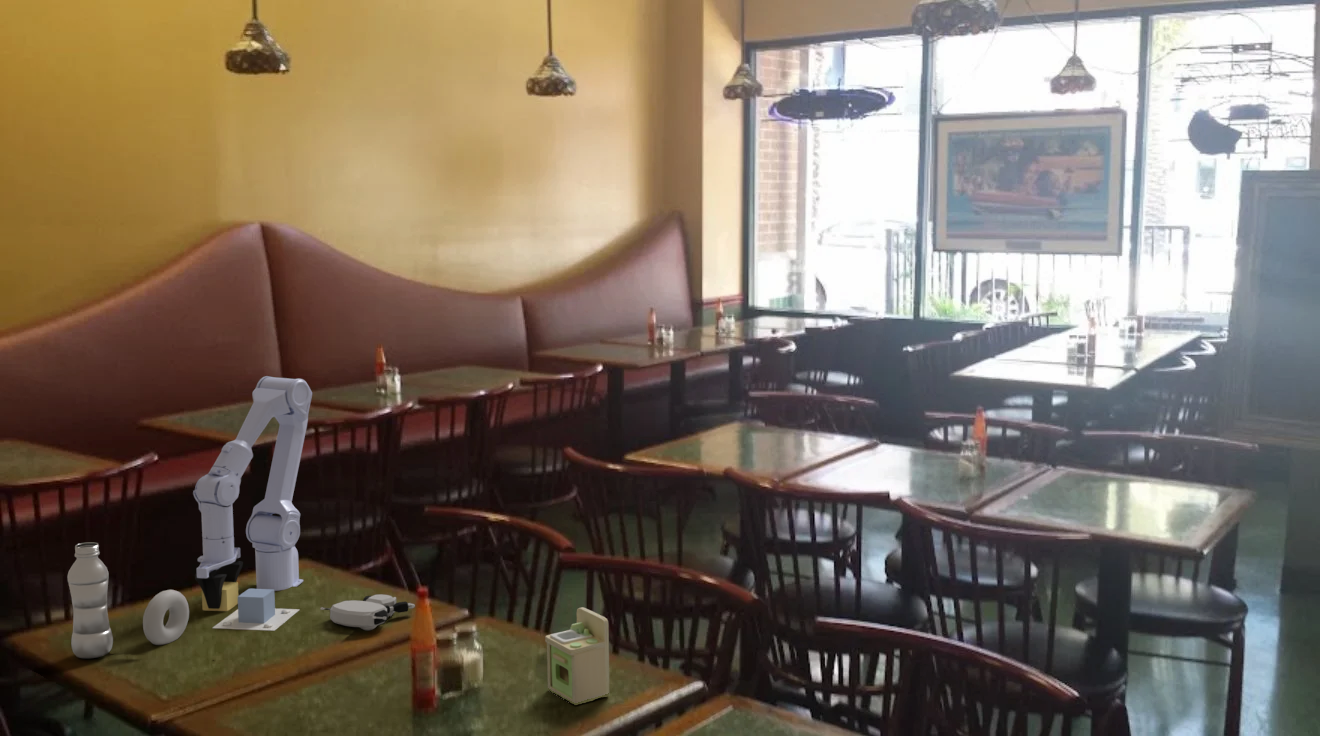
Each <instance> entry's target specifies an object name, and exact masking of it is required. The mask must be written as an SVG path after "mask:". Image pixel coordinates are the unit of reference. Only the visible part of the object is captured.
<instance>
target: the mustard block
mask: <svg viewBox="0 0 1320 736" xmlns="http://www.w3.org/2000/svg"><path fill="white" fill-rule="evenodd" d="M239 595H240V594H239V582H238V581H236V582H224V583H223V588H222V597H221V605H220V608H219V609H213V608H208V605H207V602H206V599H205V596H204V593H203V591H202V590H201V602H202V603H201V605H202V611H210V612H211V611H212V612H229V611H230V610H231V609H233V608H234V607H236V606H238V596H239Z"/></svg>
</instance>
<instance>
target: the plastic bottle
mask: <svg viewBox="0 0 1320 736" xmlns="http://www.w3.org/2000/svg"><path fill="white" fill-rule="evenodd" d="M99 547H100V545H99V542H81V543H77V544H75V546H74V550H75V551H74V552H75V553H74V557H75V558H76V559H75V561H74V562H73V563H72V565H71V566H70V569H69V570H68V573H67V583H68V586H69V593H70V596H71V603H72V612H73V621H72V635H71V640H70V642H71V644H70V645H71V649H72V652H73V654H74V655H75V656H76V658H79V659H94V658H99V657H103V656H106V655H108V654H109V652H110V651H111V650H112V649H113V643H114V637H113V633H112V628H111V627H110V621H109V614H108V587H109V586H108V585H109V571H108V567H107V566H106V565H105V564H104V562H103V561H102V560H101V559H100V558H99V555H100V553H101V552H100V549H99Z"/></svg>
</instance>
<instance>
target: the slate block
mask: <svg viewBox="0 0 1320 736" xmlns="http://www.w3.org/2000/svg"><path fill="white" fill-rule="evenodd" d="M238 595H239V596H238V604H237V609H238V620H239V622H242V623H265V622H267V621H268V620H269V619H270V618H272V617H273V616H274V615H275V608H276V602H275V601H276V600H275V591H274V589H257V588H248V589H246V590H245V591H244V592H242V593H240V594H238Z"/></svg>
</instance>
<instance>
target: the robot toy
mask: <svg viewBox="0 0 1320 736" xmlns="http://www.w3.org/2000/svg"><path fill="white" fill-rule="evenodd" d="M415 607H416V605H415V604H414V603H411V602H407V601H399V602H397V597H396V596H394V597H393V596H392V595H389V594H380V593H379V594H374V595H367V596H365V597H363V599H362V600H343V601H340V602H338V603H337V602H336V603H335V604H332V605H331V607H320V611H321V610H323V611H329V619H330V620H331V621H332V622H333V623H335V624H338V625H341V626H345V627H352V628H360V629H361V630H364V631H372V630H374V629H375V628H376V627H377V626H379V625H382V624H384V623H386V621H387V620H388V618H389V616H390V617H392V615H393V614H394V613H395V612H396V613H406V612H409V609H410V610H411V609H414V608H415Z"/></svg>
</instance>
